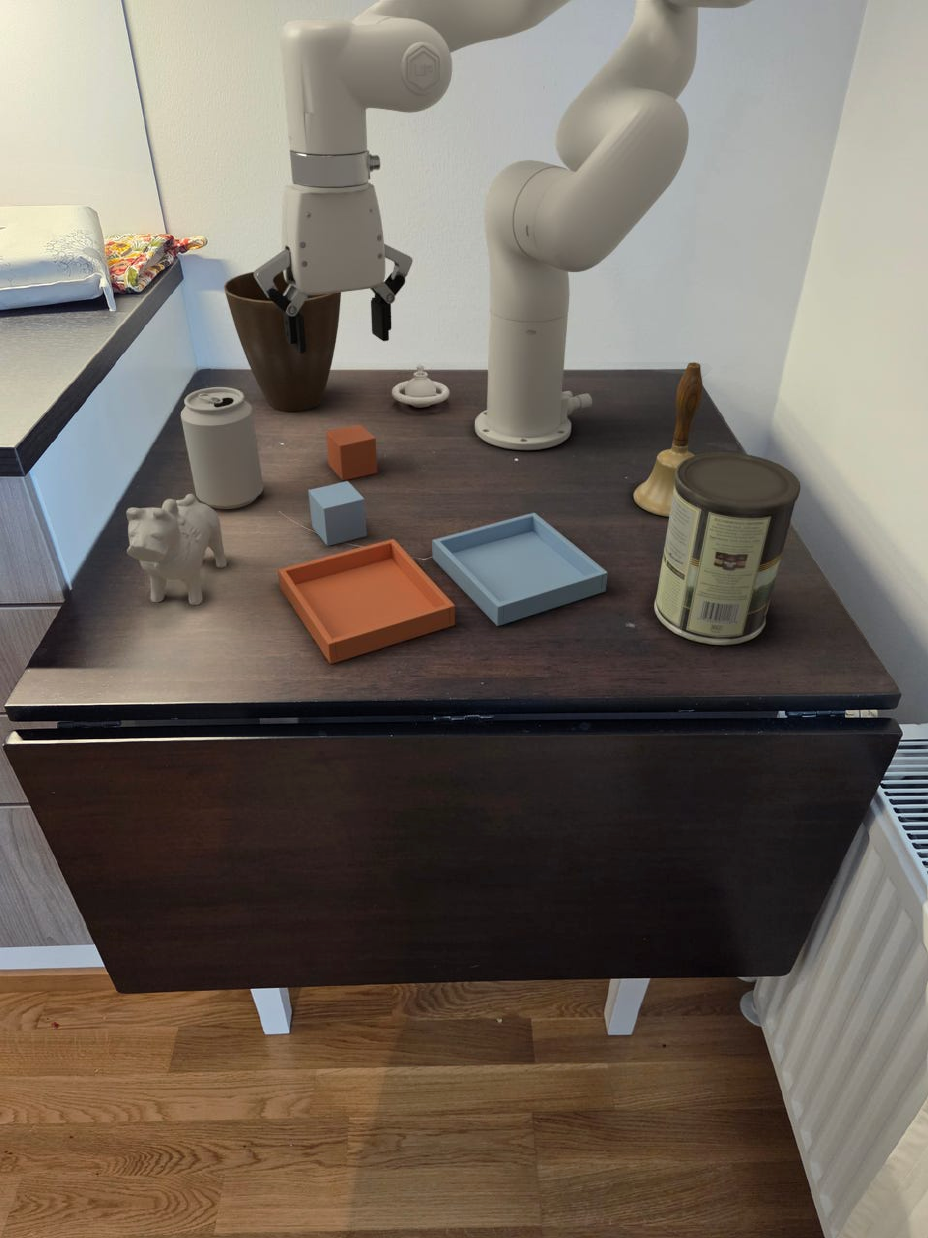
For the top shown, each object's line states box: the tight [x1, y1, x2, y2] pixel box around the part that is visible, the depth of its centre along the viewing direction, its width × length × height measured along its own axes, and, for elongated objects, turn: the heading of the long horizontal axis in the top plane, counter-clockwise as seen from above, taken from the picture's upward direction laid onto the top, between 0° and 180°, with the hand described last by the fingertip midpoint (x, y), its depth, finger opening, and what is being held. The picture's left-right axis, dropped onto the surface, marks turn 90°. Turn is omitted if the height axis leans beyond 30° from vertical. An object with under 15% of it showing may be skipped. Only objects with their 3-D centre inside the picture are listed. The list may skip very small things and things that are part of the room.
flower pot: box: [223, 271, 342, 412], centre depth 117 cm, size 15×15×16 cm
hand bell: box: [633, 362, 704, 518], centre depth 95 cm, size 8×8×16 cm
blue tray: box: [431, 512, 609, 627], centre depth 86 cm, size 12×13×2 cm
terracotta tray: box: [277, 538, 456, 665], centre depth 82 cm, size 12×13×2 cm
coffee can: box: [653, 451, 801, 646], centre depth 78 cm, size 10×10×14 cm
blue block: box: [308, 480, 368, 547], centre depth 92 cm, size 4×4×4 cm
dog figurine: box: [125, 493, 228, 606], centre depth 81 cm, size 5×13×11 cm, turn 173°
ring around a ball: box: [391, 364, 451, 408], centre depth 120 cm, size 8×6×8 cm
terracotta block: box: [325, 424, 378, 481], centre depth 104 cm, size 4×4×4 cm
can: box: [180, 386, 264, 510], centre depth 96 cm, size 8×8×12 cm
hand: (340, 343), depth 96 cm, fingers open, 9 cm apart
